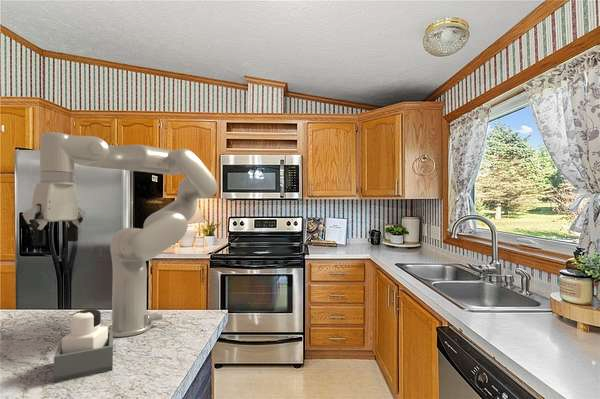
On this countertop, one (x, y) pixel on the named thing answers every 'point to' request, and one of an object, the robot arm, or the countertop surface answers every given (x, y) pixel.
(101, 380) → the countertop surface
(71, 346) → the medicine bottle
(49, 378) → the countertop surface
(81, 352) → the bin
